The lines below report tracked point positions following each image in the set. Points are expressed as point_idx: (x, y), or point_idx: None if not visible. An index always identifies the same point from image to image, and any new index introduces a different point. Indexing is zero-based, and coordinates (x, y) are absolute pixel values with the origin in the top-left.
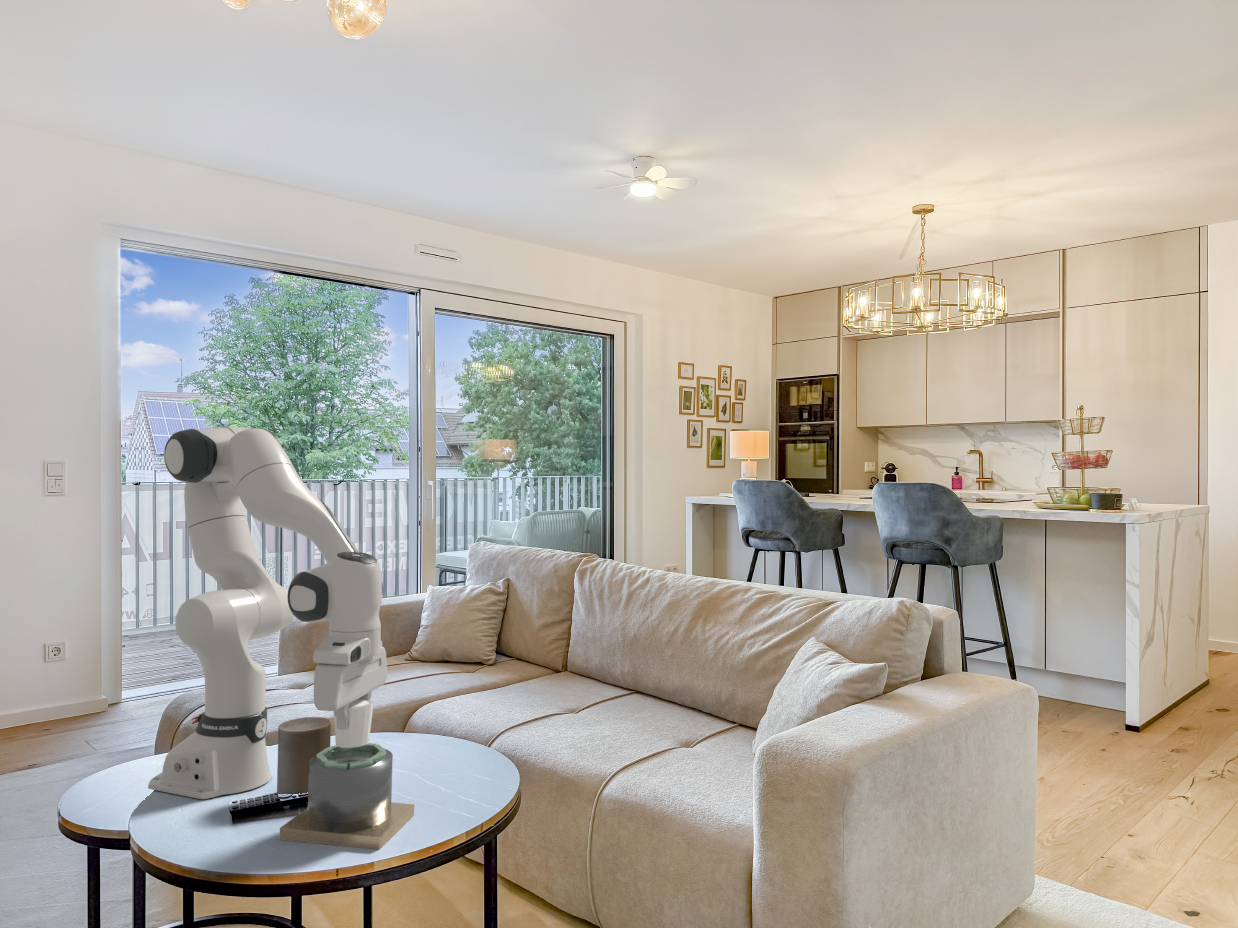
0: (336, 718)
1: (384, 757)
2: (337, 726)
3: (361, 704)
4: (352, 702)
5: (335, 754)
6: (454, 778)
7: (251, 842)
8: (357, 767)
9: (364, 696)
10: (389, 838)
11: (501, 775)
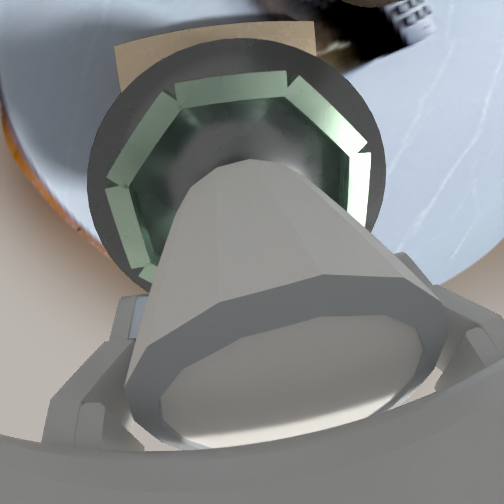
0: (104, 342)
1: None
2: (122, 304)
3: (287, 433)
4: (331, 384)
5: (265, 113)
6: (459, 209)
7: (94, 9)
8: None
9: (444, 377)
10: None
11: (461, 264)
